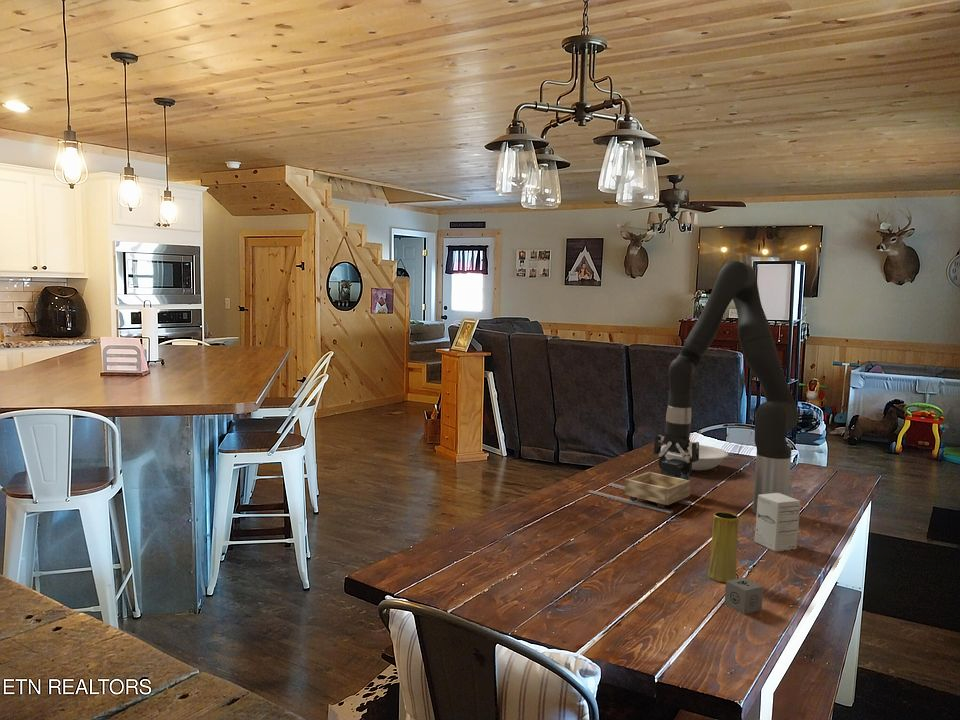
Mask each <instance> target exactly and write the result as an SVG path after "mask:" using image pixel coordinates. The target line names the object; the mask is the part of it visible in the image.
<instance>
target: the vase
mask: <svg viewBox="0 0 960 720" xmlns="http://www.w3.org/2000/svg"><path fill="white" fill-rule="evenodd" d="M711 532H712V533H711V534H712V535H711V548H710V555H709V562H708V570H707V577H708V578H709V579H711V580H713V581H715V582H719V583H725V584H726V581H729V580H733V579H737V564H738V560H737V558H738V533H739V515H737V514H735V513H731V512H728V511H716V512H714V513H713V516H712V531H711Z"/></svg>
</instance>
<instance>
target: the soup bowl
mask: <svg viewBox="0 0 960 720" xmlns="http://www.w3.org/2000/svg"><path fill="white" fill-rule="evenodd" d="M665 446H666V444H663V445H661V451H662V449H663V448H664V447H665ZM688 449H689V451H690V453H691V456H692V449H691V447H690V446H689V447H688ZM665 457H666V461H667V460H670V459H674V458H676V459H681V460H685V459H684V457H683V456H682V455H681V453H680V454H679V453H676V452H670V451H669V452H668V453H667V454H666V455H665ZM728 457H729V453H728V452H727V451H726V450H724V449H722V448H721V449H720V448H717V447H714V446H708V445H704V444H703V445H702V444H699V460H698V461H696V462H693V463H692V471H706V470H707V471H708V470H711V469H713V468H715V467H717V466H718V465H720V464H721V463H722V461H723V460H724V459H727V458H728ZM685 461H686V460H685Z"/></svg>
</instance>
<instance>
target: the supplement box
mask: <svg viewBox="0 0 960 720" xmlns="http://www.w3.org/2000/svg"><path fill="white" fill-rule="evenodd" d="M801 502H802V501H801V500H799V499H798V498H797V499H796V498H793V497H789V496H786V495H783V494H781V493H770V494H761V495H758V503H757V514H756V515H755V516H756V519H755V530H754V531H755V532H754V543H757V544H759V545H761V546H763V547H765V548H767V549H768V550H771V551H772V552H785V551H790V550H791V549H793V550H796V549H797V548H798V547H797V546H798V538H799V537H798V536H799V535H798V534H799V526H800V525H799V524H800V523H799V522H800V513H801ZM784 550H785V551H784Z"/></svg>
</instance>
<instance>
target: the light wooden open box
mask: <svg viewBox="0 0 960 720" xmlns="http://www.w3.org/2000/svg"><path fill="white" fill-rule="evenodd" d="M624 481H625V482H624V486H625V490H624V495H625V496H627V497H629V500H631V501H637V500H638V499H641V500H644V501H645V500H646V501H650V502H653V503H656V504H657V506H658V507H659V508H665V506H669V505H672V504H673V503H677V502H676V501H678V500H684V499H685V498H688V497H690V495H691V482H692V481H691V480H685V479H680V478H676V477H671V476H666V475H662V474H661V473H656V472H652V471H646V472H644V473H641V474H638V475H635V476H631V477H629V478H626V479H625V480H624Z"/></svg>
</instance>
